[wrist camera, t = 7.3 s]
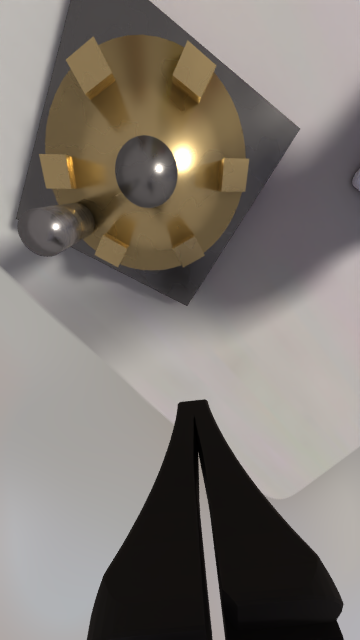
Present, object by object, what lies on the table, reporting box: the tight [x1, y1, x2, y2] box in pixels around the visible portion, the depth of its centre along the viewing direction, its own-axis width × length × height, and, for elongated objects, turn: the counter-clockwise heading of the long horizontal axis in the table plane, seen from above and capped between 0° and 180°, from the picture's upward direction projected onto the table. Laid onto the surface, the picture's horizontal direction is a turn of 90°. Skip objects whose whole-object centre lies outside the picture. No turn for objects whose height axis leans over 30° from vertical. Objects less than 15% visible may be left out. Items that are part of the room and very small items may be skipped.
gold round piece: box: [18, 35, 249, 270], centre depth 11 cm, size 10×10×6 cm
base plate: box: [16, 0, 300, 306], centre depth 15 cm, size 12×12×2 cm
